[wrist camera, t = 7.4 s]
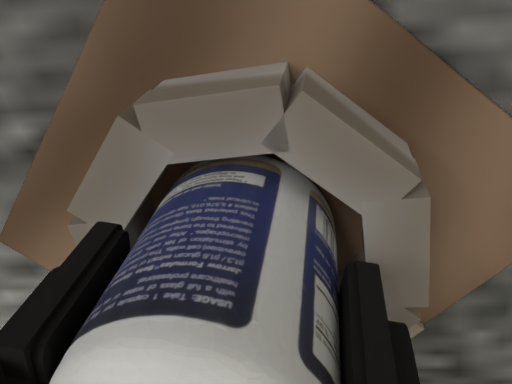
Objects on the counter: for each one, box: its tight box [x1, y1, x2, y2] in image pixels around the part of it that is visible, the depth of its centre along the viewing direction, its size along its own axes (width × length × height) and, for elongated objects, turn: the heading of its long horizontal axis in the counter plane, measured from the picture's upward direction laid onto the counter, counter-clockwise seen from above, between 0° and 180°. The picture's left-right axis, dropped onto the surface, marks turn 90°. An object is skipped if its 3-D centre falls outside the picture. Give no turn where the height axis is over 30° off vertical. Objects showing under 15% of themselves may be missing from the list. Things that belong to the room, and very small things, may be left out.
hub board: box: [0, 0, 512, 338], centre depth 14 cm, size 14×14×4 cm
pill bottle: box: [49, 155, 341, 384], centre depth 9 cm, size 5×5×10 cm
